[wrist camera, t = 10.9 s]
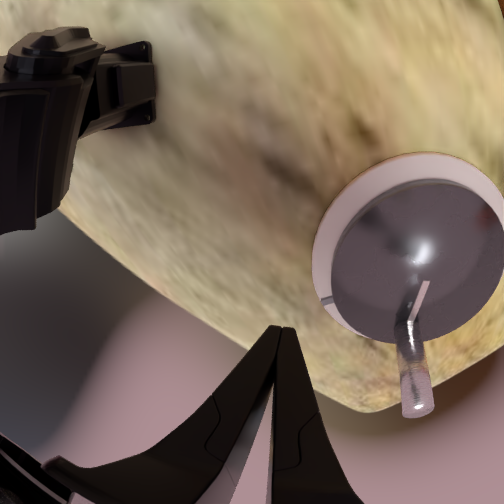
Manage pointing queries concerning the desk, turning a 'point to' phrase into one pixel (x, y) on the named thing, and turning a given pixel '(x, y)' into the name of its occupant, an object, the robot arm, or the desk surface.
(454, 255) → the dial
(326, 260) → the dial base
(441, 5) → the desk surface
